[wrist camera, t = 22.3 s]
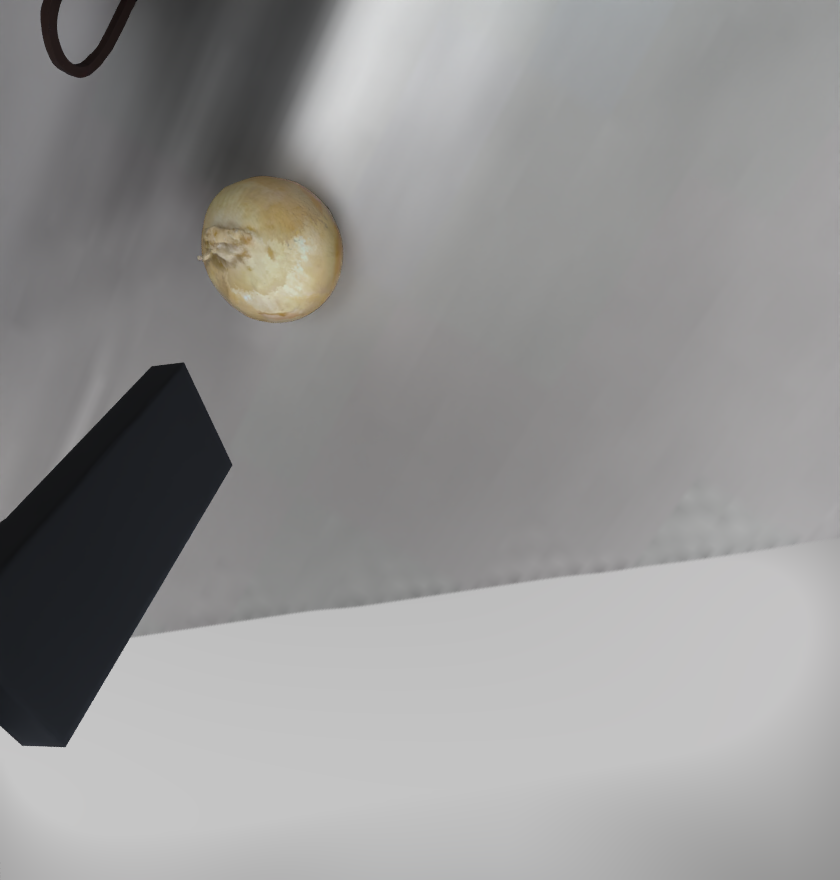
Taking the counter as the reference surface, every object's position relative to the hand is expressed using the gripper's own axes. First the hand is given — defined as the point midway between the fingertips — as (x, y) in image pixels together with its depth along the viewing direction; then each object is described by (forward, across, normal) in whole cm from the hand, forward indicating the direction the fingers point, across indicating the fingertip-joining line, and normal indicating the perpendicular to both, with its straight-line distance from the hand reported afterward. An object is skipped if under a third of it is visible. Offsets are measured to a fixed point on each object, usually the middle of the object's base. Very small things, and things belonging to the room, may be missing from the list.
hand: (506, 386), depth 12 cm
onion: (+26, -14, -4) cm, 29 cm away
